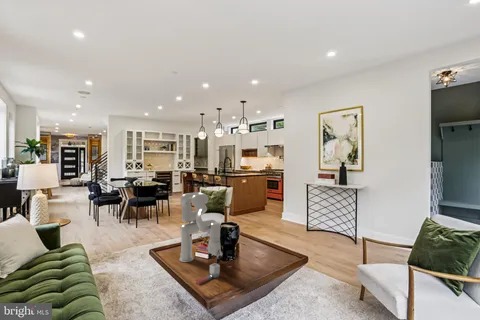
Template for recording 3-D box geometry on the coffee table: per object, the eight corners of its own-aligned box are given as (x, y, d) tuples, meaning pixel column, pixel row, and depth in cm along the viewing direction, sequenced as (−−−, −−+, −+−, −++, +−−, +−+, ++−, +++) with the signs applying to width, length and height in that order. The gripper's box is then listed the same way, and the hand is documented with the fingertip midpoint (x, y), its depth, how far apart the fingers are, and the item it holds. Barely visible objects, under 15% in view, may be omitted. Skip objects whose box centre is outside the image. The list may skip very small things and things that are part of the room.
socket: (209, 272, 190) (209, 265, 190) (214, 270, 194) (214, 263, 194) (214, 275, 187) (214, 267, 187) (219, 272, 191) (219, 265, 191)
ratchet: (194, 282, 181) (194, 270, 180) (214, 273, 195) (215, 262, 195) (200, 285, 176) (200, 273, 176) (221, 276, 191) (221, 265, 190)
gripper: (203, 237, 193) (203, 258, 194) (218, 243, 182) (218, 266, 182) (211, 234, 199) (210, 256, 199) (226, 240, 187) (225, 263, 188)
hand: (214, 260), depth 191 cm, fingers open, 9 cm apart
